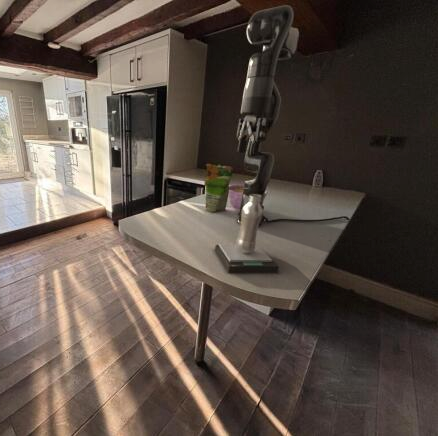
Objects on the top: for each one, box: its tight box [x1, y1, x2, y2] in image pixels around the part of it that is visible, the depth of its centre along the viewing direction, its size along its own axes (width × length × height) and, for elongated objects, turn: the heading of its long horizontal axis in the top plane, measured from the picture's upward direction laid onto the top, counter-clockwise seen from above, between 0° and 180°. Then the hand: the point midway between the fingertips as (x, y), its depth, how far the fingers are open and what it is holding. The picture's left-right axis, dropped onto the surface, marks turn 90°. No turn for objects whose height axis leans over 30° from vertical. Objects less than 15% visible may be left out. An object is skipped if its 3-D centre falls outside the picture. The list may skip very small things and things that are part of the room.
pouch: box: [204, 163, 234, 213], centre depth 123 cm, size 11×12×25 cm
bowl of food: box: [228, 184, 268, 212], centre depth 127 cm, size 20×20×12 cm
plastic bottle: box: [234, 194, 264, 253], centre depth 76 cm, size 6×7×20 cm
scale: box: [214, 243, 280, 274], centre depth 80 cm, size 16×14×3 cm
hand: (246, 154), depth 73 cm, fingers open, 8 cm apart
